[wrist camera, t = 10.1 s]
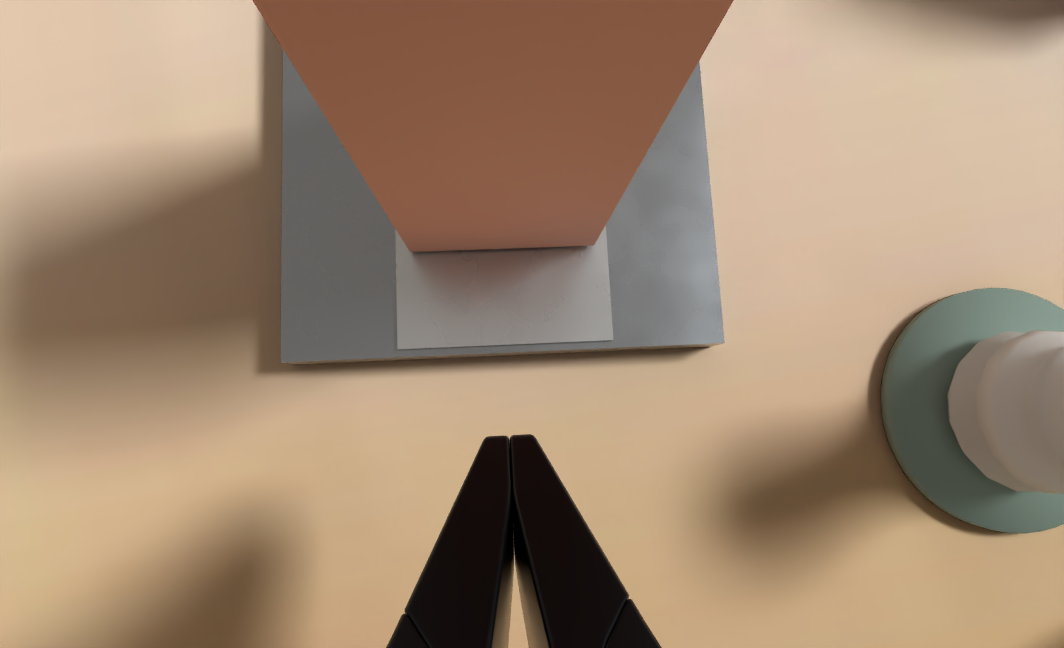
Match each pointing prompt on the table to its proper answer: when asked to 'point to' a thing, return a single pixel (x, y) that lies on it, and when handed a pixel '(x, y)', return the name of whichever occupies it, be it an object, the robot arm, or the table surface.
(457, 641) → the robot arm
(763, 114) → the table surface
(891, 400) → the round pad
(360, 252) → the rail
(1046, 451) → the rook chess piece
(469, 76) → the block
